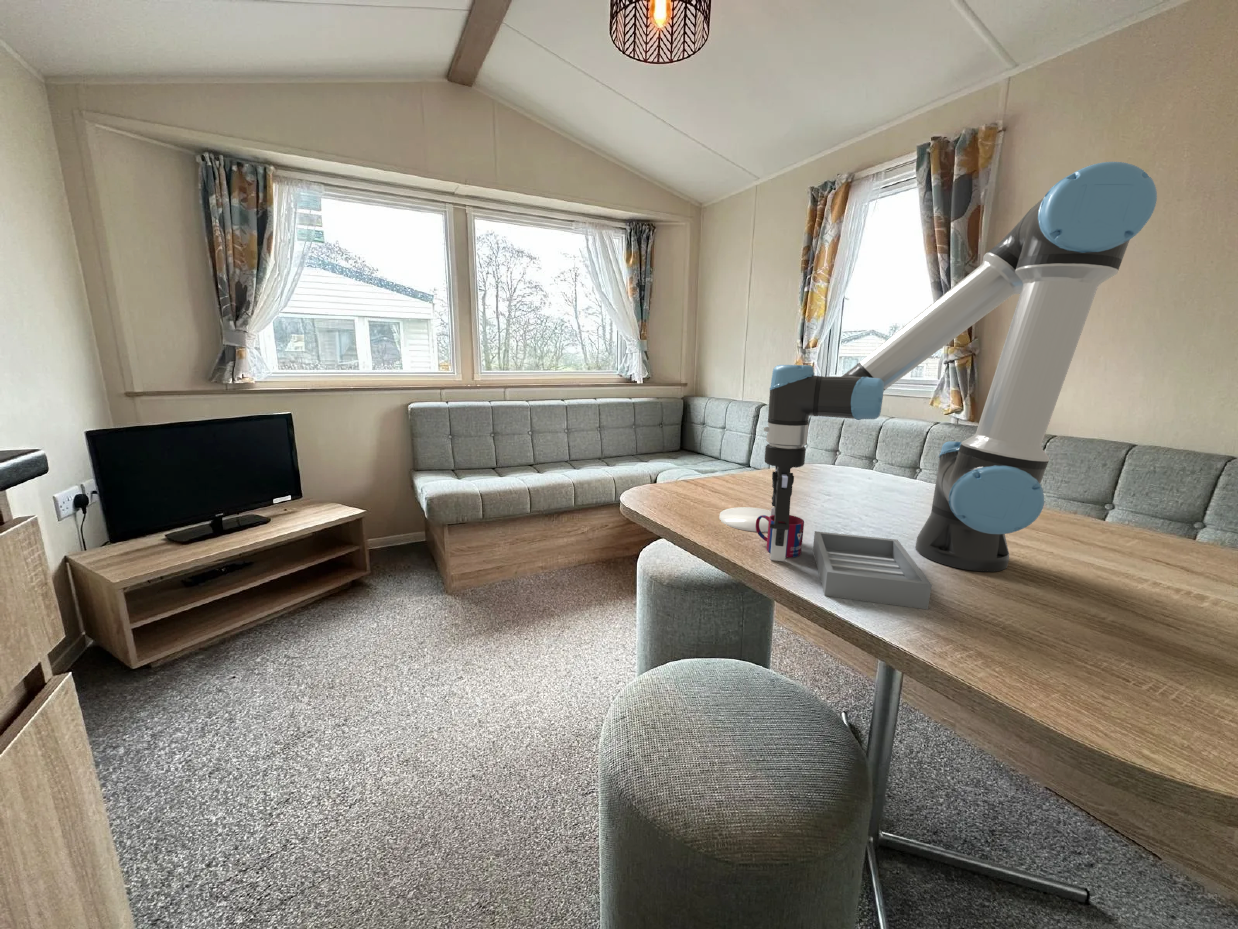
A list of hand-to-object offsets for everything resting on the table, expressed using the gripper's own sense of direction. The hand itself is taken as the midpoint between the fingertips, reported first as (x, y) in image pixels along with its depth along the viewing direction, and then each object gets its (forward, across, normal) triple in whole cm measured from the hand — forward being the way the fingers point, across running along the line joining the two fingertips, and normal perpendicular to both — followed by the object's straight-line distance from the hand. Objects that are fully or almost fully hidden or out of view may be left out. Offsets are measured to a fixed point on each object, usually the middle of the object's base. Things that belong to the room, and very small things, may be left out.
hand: (776, 547), depth 99 cm
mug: (0, 0, 0) cm, 0 cm away
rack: (0, +9, +15) cm, 17 cm away
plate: (+1, -17, -5) cm, 18 cm away
